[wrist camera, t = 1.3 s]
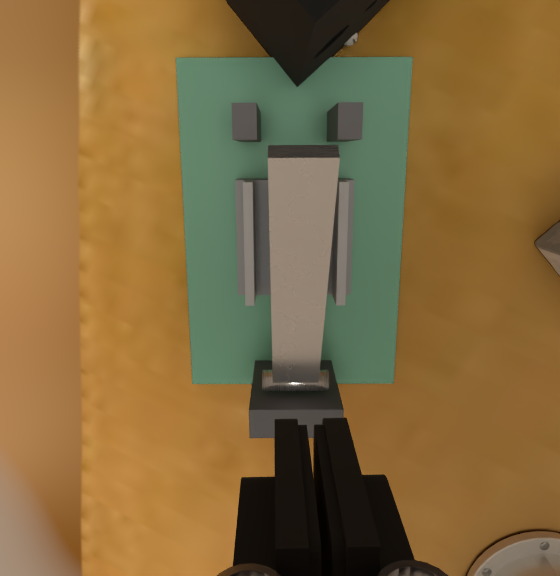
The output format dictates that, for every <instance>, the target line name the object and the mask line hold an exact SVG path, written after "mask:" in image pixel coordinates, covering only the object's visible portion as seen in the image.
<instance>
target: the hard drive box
mask: <svg viewBox="0 0 560 576" xmlns="http://www.w3.org/2000/svg"><path fill="white" fill-rule="evenodd" d="M535 245H536V246H537V248H538V249H539V250H540V252H541V253H542V254H543V255H544V256H545V258H546V259H547V260H548V261H549V263H550V264H551V265H552V266H553V268H554V269H555V271H556V272H557V273H558V274H559V276H560V221H559V222H558V223H557V224H555V225H554V226H553V227H552V228H551V229H549V230H548V231H547V232H546V233H545V234H544V235H542V236H541V237H540V238H539V239H538V240H536V241H535Z"/></svg>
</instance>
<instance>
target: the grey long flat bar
mask: <svg viewBox="0 0 560 576" xmlns="http://www.w3.org/2000/svg"><path fill="white" fill-rule="evenodd" d="M339 162H340V155H339V148H338V145H268V192H269V236H270V280H271V323H272V367H273V370H262V391H329V371H328V370H320V362H321V351H322V341H323V330H324V320H325V309H326V299H327V288H328V278H329V267H330V257H331V246H332V236H333V225H334V215H335V204H336V194H337V183H338V173H339Z"/></svg>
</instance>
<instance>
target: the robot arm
mask: <svg viewBox="0 0 560 576" xmlns="http://www.w3.org/2000/svg"><path fill="white" fill-rule="evenodd" d="M217 576H448V575H447V574H445V573H444V572H443V571H441V570H440V569H439V568H437V567H434V566H432V565H430V564H428V563H425V562H421V561H416V560H415V559H414V556H413V553H412V550H411V548H410V545H409V542H408V539H407V536H406V533H405V530H404V527H403V524H402V521H401V518H400V515H399V512H398V509H397V506H396V503H395V500H394V498H393V495H392V492H391V489H390V486H389V483H388V480H387V478H386V476H385V475H362V474H361V470H360V466H359V463H358V459H357V455H356V451H355V448H354V444H353V440H352V436H351V433H350V429H349V425H348V422H347V418H323V420H322V424H317V425H314V472H312V464H311V456H310V448H309V439H308V431H307V425H298V420H297V419H275V477H242V478H241V485H240V496H239V506H238V517H237V528H236V539H235V549H234V560H233V567H230V568H228V569H226V570H224V571H223V572H221V573H219V574H218V575H217ZM467 576H560V533H555V532H548V531H534V532H526V533H521V534H518V535H514V536H510V537H508V538H506V539H504V540H502V541H500V542H498V543H496V544H495V545H493V546H492V547H490V548H489V549H487V550H486V551H485V552H484V553H483V554H482V555H481V556H480V557H479V558H478V559H477V560H476V561H475V563H474V564H473V565H472V567H471V568H470V570H469V572H468V575H467Z"/></svg>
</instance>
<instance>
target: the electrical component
mask: <svg viewBox="0 0 560 576" xmlns="http://www.w3.org/2000/svg"><path fill="white" fill-rule="evenodd" d="M226 1H227V3H228V5H229V6H230V7H231V8H232V10H233V11H234V12H235V13H236V14H237V16H238V17H239V18H240V19H241V21H242V22H243V23H244V24H245V26H246V27H247V28H248V29H249V31H250V32H251V33H252V34H253V36H254V37H255V38H256V39H257V41H258V42H259V43H260V44H261V46H262V47H263V48H264V49H265V51H266V52H267V53H268V54H269V56H270V57H273V58H274V59H275V60H276V62H277V63H278V64H279V65H280V67H281V68H282V69H283V70H284V72H285V73H286V74H287V75H288V77H289V78H290V79H291V80H292V82H293V83H294V84H295V85H296V87H298V86H299V85H300V84H301V83H303V82H304V81H305V80H306V79H307V78H308V77H309V76H310V75H311V74H312V73H314V72H315V71H316V70H317V69H318V68H319V67H320V66H321V65H322V64H323V63H324V62H326V61H327V60H328V59H329V58H330V57H333V56H334V55H335V54H336V53H337V52H338V51H339V50H340V49H342V48H343V47H344V46H345V45H346V46H350V45H353V44H354V43H353V42H356V41H357V38H358V33H359V31H360V30H361V29H362V28H363V27H364V26H365V25H366V24H367V23H368V22H369V21H370V20H371V19H372V18H373V17H374V16H375V15H376V14H377V13H378V12H379V11H380V10H381V9H382V8H383V7H384V6H385V5H386V3H387V2H388V1H389V0H226Z"/></svg>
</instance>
